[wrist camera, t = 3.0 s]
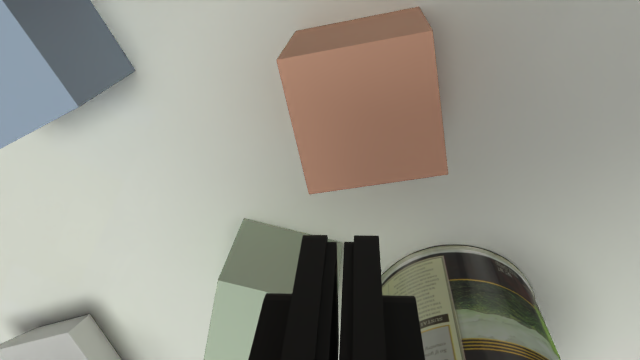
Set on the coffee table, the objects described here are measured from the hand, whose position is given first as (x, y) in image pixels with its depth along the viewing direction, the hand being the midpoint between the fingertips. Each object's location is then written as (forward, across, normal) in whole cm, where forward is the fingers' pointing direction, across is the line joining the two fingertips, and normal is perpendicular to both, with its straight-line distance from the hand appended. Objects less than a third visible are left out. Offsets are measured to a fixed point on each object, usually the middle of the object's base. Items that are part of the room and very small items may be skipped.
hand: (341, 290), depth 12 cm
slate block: (+17, +15, -2) cm, 23 cm away
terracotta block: (+17, -1, 0) cm, 17 cm away
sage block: (+17, +4, +12) cm, 21 cm away
